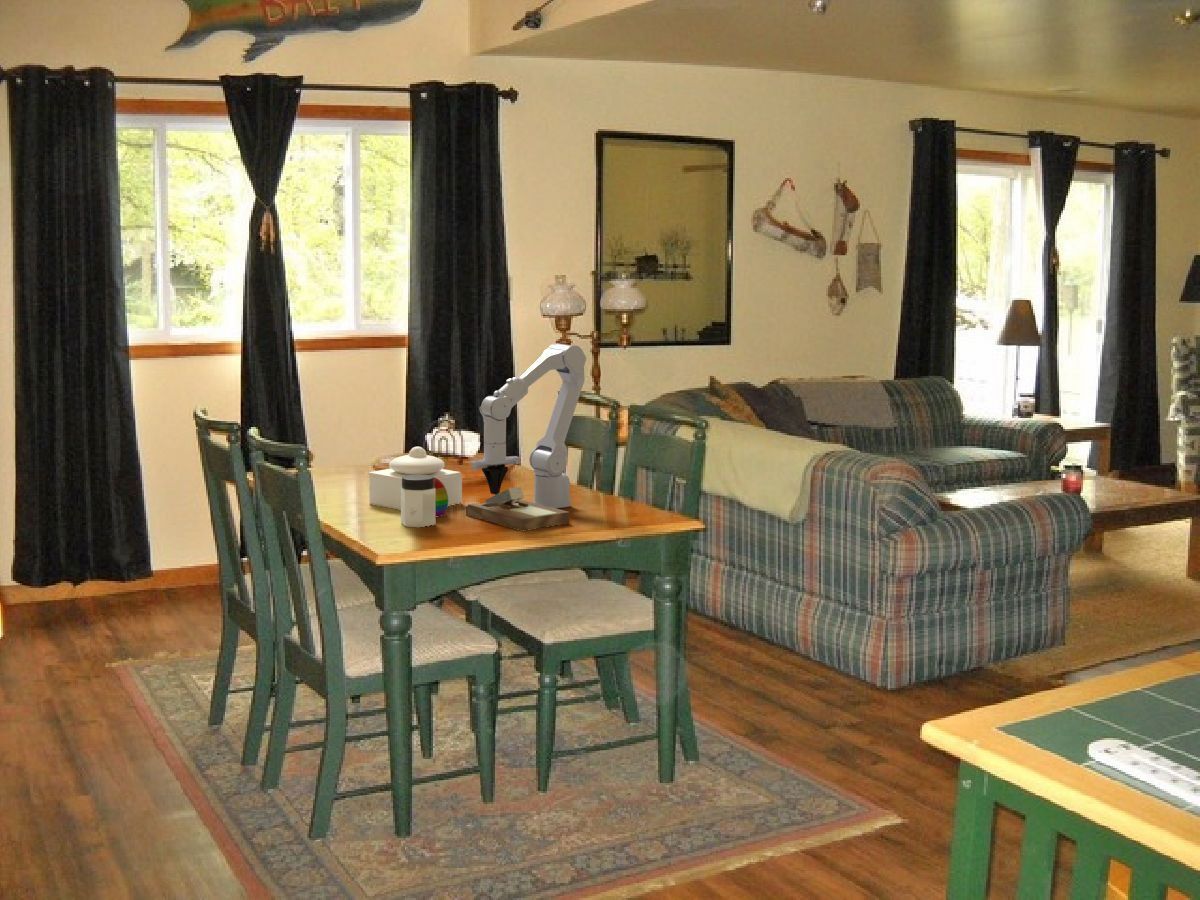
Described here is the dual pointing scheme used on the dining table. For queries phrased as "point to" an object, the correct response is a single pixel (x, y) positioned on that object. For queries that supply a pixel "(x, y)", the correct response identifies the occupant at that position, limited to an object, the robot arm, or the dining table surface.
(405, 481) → the jar
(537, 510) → the pad
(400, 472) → the butter dish
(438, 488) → the decorative egg
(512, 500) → the bar
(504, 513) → the board
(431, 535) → the dining table surface
